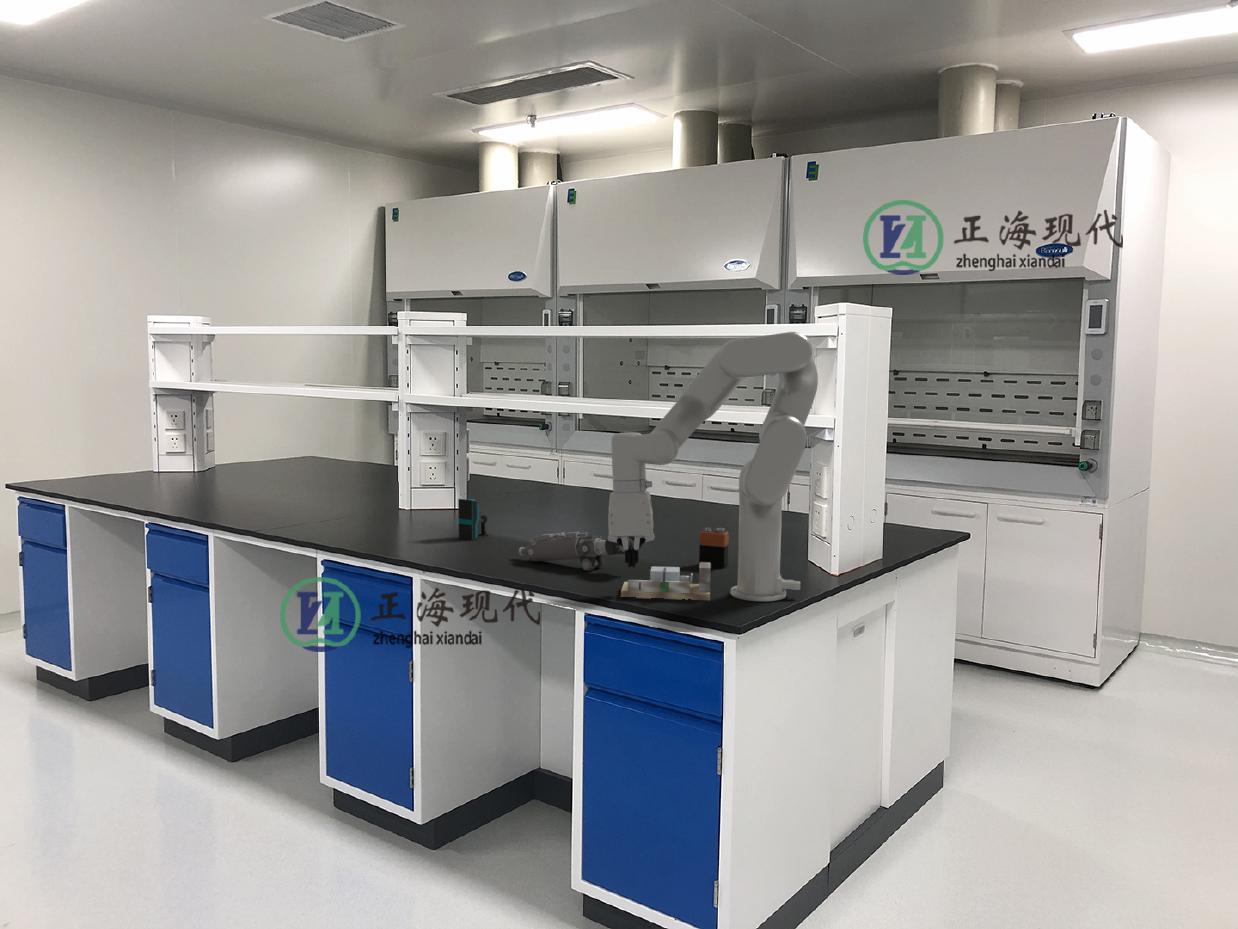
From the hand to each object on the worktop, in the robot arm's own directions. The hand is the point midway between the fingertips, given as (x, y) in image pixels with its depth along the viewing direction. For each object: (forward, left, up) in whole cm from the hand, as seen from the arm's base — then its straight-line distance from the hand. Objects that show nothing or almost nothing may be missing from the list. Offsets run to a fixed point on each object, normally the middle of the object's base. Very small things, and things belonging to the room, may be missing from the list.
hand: (632, 565), depth 214 cm
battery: (-19, -31, -7) cm, 37 cm away
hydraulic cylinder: (+17, -25, -7) cm, 31 cm away
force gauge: (-9, +2, -4) cm, 10 cm away
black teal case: (+52, -61, -7) cm, 81 cm away
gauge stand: (-8, 0, -6) cm, 10 cm away
